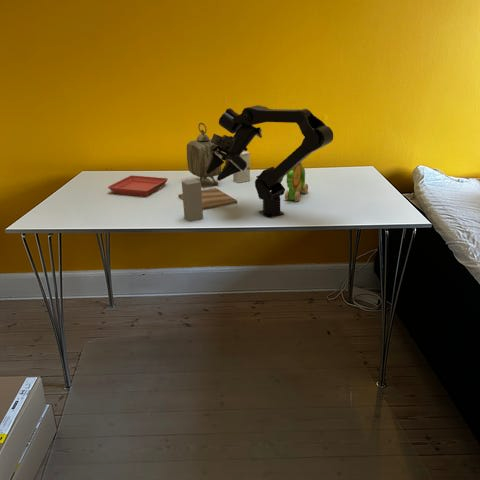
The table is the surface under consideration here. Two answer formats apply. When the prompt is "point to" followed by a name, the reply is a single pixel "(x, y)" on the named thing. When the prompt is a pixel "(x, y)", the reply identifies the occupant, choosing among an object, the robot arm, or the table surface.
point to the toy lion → (296, 183)
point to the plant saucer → (138, 185)
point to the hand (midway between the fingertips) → (212, 176)
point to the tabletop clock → (201, 156)
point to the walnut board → (214, 198)
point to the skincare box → (245, 174)
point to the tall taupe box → (192, 200)
